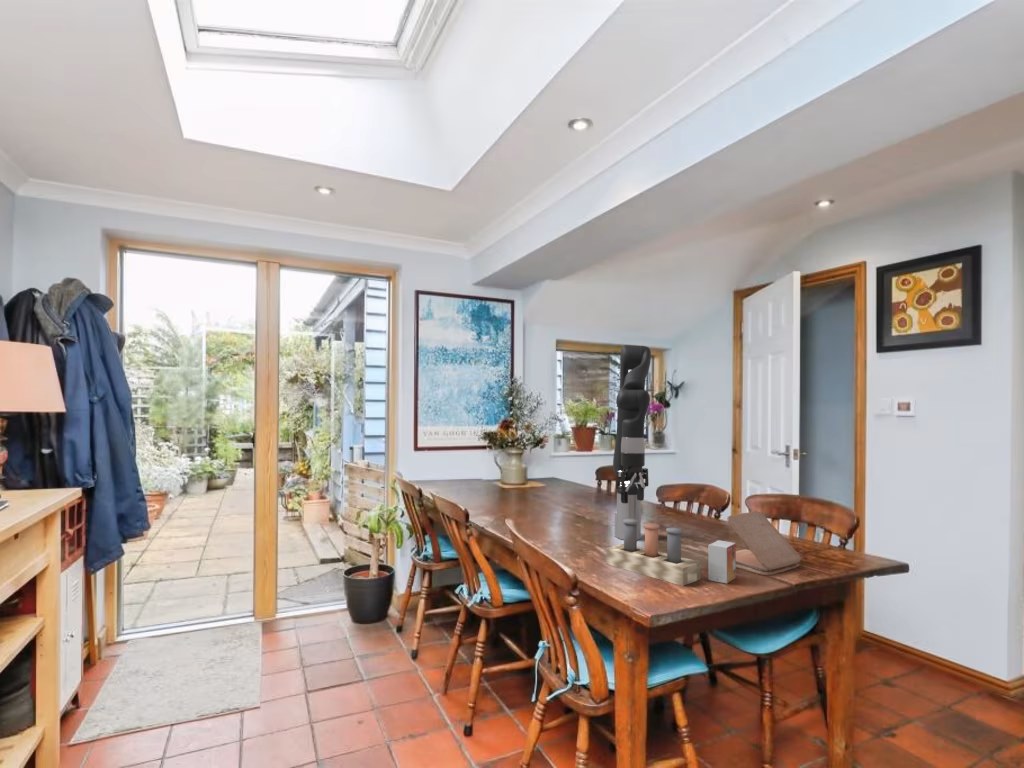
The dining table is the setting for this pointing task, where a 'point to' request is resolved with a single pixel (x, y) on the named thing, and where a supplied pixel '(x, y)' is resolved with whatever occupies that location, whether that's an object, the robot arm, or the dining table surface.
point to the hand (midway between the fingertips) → (632, 501)
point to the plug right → (674, 545)
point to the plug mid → (651, 539)
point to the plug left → (630, 535)
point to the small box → (722, 561)
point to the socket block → (654, 565)
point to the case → (762, 545)
